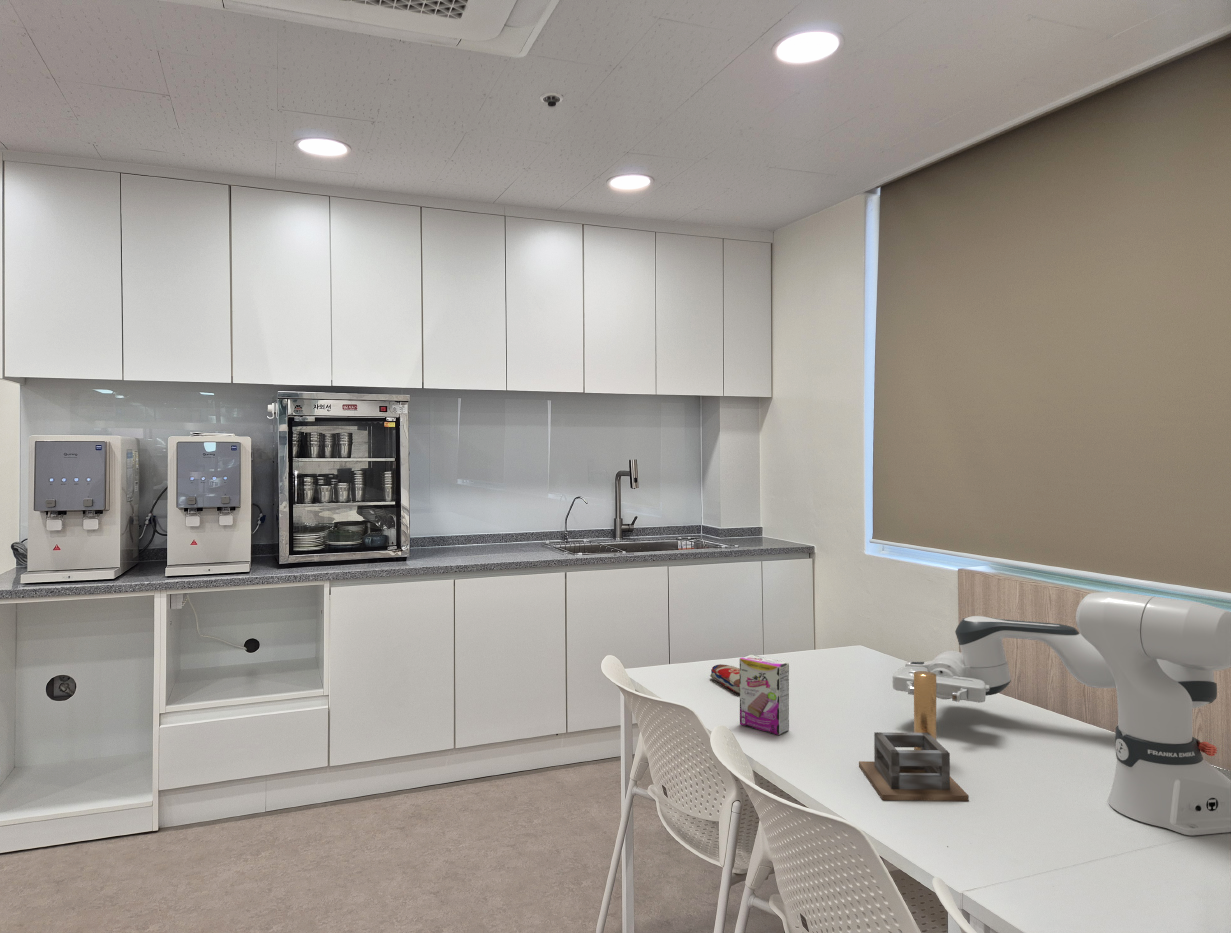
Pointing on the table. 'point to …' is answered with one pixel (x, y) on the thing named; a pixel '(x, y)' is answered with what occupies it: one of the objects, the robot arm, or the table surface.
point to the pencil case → (727, 676)
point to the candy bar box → (764, 694)
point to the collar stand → (911, 769)
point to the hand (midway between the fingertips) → (933, 694)
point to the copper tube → (925, 703)
